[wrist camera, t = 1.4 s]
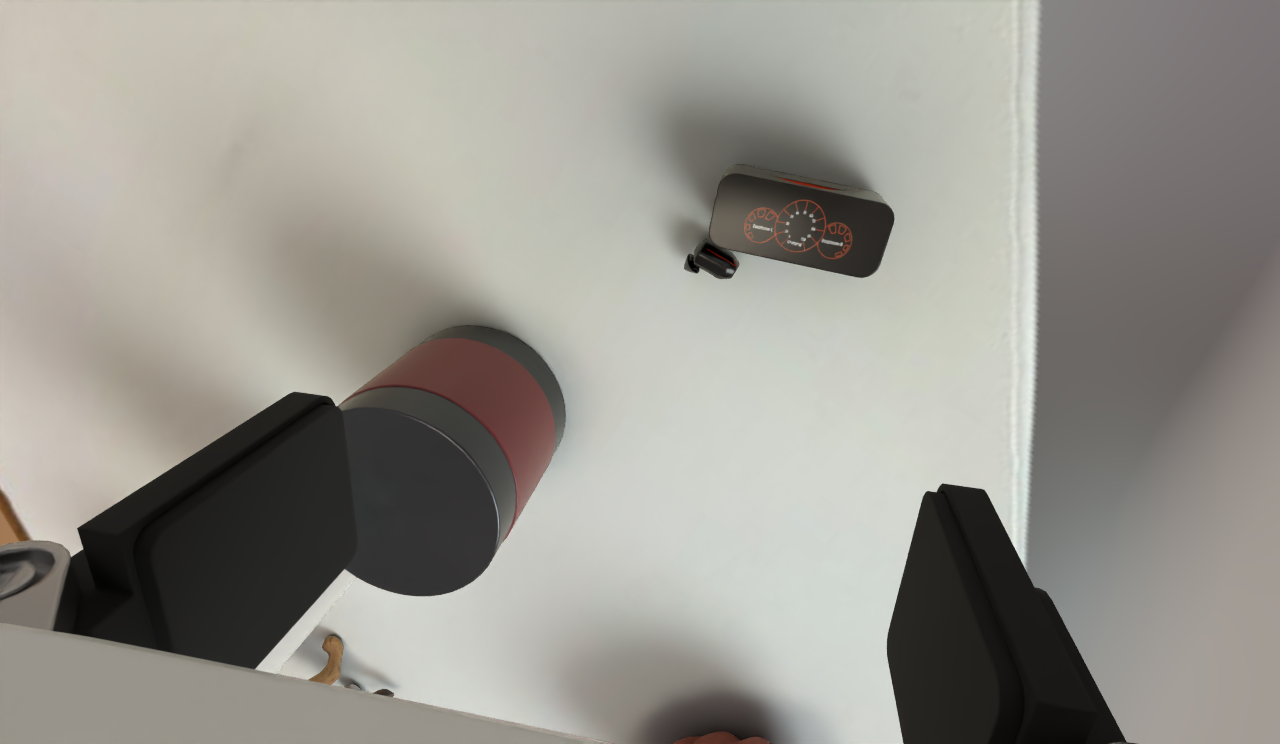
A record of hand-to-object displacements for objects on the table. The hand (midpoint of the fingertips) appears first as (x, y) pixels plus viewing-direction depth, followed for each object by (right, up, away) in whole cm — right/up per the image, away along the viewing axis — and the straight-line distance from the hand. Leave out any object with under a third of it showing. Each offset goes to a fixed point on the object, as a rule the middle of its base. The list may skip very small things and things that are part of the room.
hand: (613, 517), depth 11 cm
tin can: (-7, +1, +23) cm, 25 cm away
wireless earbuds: (+6, +8, +18) cm, 21 cm away
